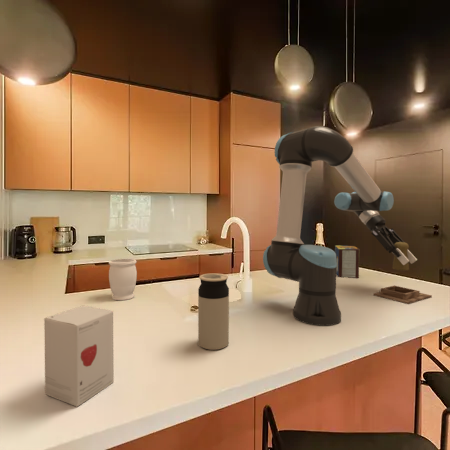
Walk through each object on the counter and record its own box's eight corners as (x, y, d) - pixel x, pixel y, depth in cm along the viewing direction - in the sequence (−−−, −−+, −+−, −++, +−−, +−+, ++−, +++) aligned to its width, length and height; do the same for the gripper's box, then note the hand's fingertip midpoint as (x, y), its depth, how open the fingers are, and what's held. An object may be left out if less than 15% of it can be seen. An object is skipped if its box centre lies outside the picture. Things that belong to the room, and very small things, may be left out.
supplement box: (76, 408, 53) (75, 325, 52) (43, 395, 56) (41, 317, 56) (115, 382, 61) (114, 309, 60) (84, 372, 65) (83, 303, 64)
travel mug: (204, 353, 73) (204, 280, 73) (194, 340, 81) (194, 274, 80) (233, 347, 77) (234, 278, 76) (221, 335, 84) (221, 272, 83)
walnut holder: (408, 304, 113) (408, 296, 113) (373, 295, 125) (373, 288, 125) (431, 297, 123) (431, 290, 122) (397, 289, 135) (397, 282, 134)
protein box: (353, 272, 172) (354, 245, 171) (358, 278, 157) (359, 249, 156) (334, 271, 174) (334, 245, 174) (337, 277, 159) (338, 248, 159)
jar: (115, 303, 113) (114, 263, 112) (105, 297, 120) (104, 260, 120) (141, 298, 120) (141, 260, 119) (130, 292, 127) (130, 257, 127)
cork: (411, 270, 119) (412, 243, 118) (395, 270, 120) (395, 242, 120) (405, 267, 125) (406, 241, 124) (390, 267, 126) (390, 241, 126)
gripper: (378, 225, 139) (415, 265, 126) (354, 226, 130) (390, 270, 117) (390, 213, 135) (429, 254, 121) (365, 214, 125) (405, 258, 112)
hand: (410, 262), depth 119 cm, fingers closed on cork, 5 cm apart
